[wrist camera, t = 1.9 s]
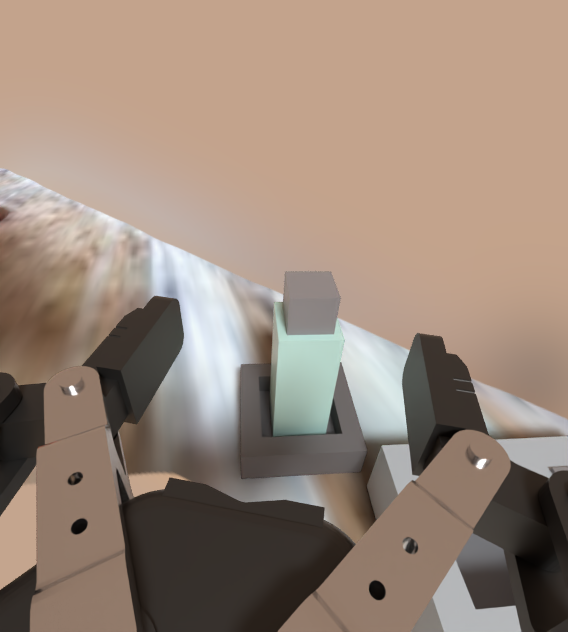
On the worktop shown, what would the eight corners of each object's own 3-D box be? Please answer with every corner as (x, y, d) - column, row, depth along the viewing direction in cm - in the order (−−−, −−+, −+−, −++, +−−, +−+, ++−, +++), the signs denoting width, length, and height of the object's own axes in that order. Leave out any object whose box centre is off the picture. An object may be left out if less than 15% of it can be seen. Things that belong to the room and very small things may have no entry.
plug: (272, 440, 31) (281, 304, 23) (269, 399, 35) (275, 267, 26) (324, 438, 32) (352, 303, 23) (316, 397, 35) (337, 267, 27)
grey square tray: (241, 478, 29) (240, 457, 28) (241, 386, 37) (240, 364, 35) (360, 471, 30) (367, 450, 29) (336, 383, 38) (340, 361, 36)
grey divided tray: (426, 703, 20) (463, 681, 17) (366, 486, 29) (382, 442, 26) (749, 662, 22) (843, 635, 19) (597, 471, 32) (640, 430, 28)
